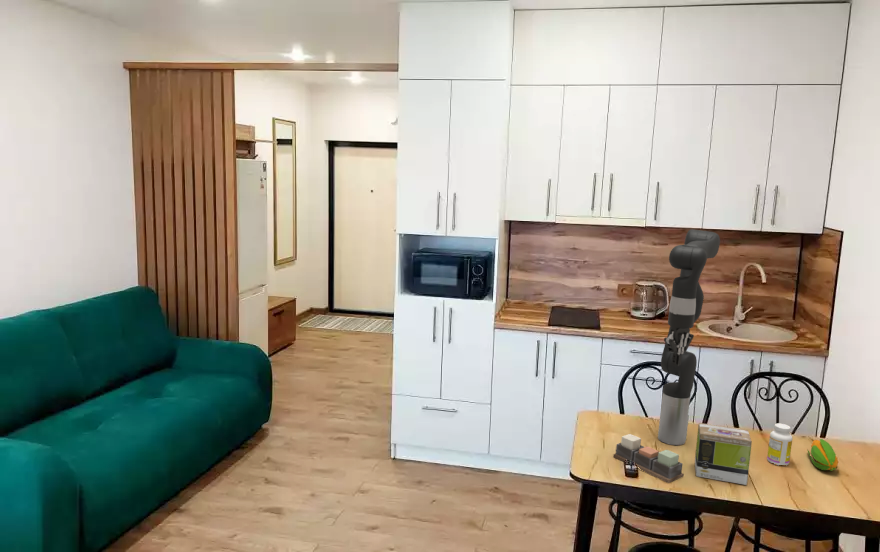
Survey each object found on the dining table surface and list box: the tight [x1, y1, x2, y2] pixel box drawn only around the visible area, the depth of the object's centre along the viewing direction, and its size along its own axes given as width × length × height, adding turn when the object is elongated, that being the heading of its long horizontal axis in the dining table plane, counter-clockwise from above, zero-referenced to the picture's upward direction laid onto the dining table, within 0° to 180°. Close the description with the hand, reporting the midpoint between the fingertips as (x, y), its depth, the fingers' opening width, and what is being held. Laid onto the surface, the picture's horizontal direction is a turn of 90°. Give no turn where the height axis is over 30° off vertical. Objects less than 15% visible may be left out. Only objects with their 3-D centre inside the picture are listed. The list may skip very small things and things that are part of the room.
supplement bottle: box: [766, 422, 793, 466], centre depth 216 cm, size 7×7×13 cm
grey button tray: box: [612, 442, 684, 484], centre depth 209 cm, size 8×21×4 cm, turn 37°
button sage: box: [657, 449, 680, 467], centre depth 203 cm, size 4×4×4 cm
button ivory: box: [620, 433, 642, 450], centre depth 214 cm, size 4×4×4 cm
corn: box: [806, 438, 839, 472], centre depth 218 cm, size 7×8×20 cm
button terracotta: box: [639, 445, 660, 458], centre depth 209 cm, size 4×4×4 cm
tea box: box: [694, 422, 753, 486], centre depth 205 cm, size 15×10×15 cm, turn 71°
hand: (676, 364), depth 203 cm, fingers closed
